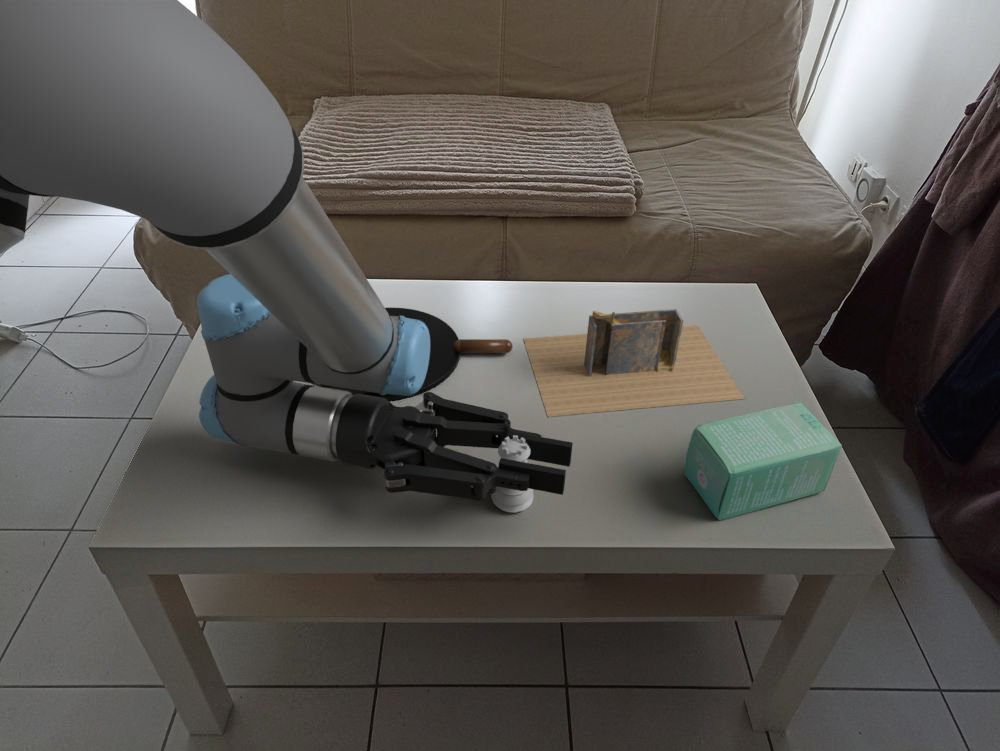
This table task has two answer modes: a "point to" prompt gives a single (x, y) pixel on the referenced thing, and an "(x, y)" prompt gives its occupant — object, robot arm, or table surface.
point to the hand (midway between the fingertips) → (567, 468)
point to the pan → (439, 351)
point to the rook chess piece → (509, 497)
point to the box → (760, 459)
